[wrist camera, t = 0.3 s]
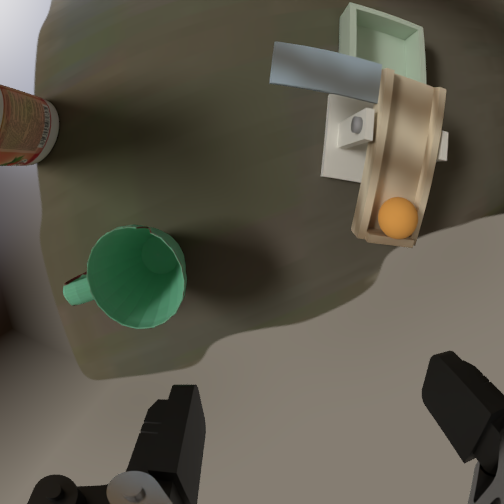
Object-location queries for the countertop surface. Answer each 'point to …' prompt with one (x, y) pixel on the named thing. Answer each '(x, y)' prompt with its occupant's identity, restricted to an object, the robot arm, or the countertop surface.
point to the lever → (376, 128)
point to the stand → (353, 138)
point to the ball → (398, 218)
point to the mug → (133, 277)
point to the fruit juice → (25, 127)
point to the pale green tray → (383, 41)
